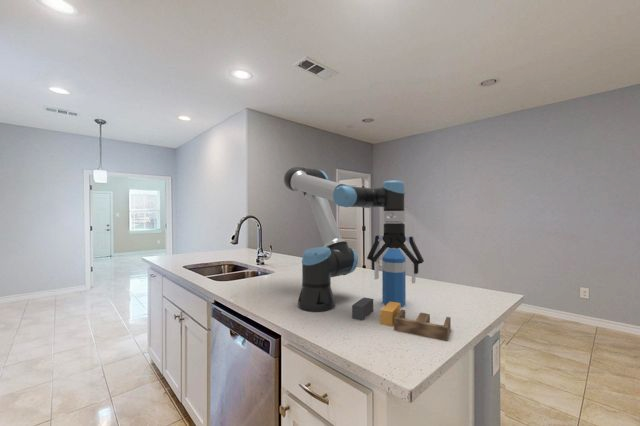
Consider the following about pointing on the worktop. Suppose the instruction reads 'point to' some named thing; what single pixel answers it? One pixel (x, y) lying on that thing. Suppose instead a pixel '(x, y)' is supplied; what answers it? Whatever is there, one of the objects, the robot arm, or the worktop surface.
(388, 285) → the blue water bottle
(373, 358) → the worktop surface
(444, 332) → the bronze desk organizer
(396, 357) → the worktop surface
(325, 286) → the robot arm
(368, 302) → the tall gray prism
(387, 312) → the tall orange brick
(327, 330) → the worktop surface
